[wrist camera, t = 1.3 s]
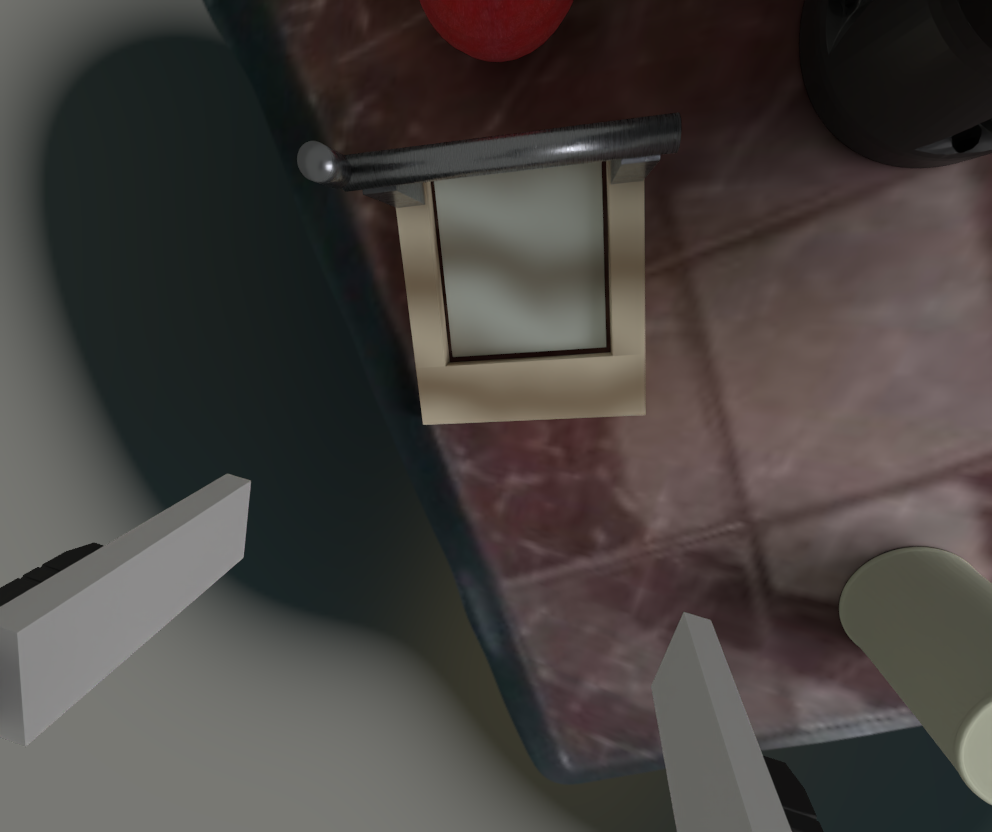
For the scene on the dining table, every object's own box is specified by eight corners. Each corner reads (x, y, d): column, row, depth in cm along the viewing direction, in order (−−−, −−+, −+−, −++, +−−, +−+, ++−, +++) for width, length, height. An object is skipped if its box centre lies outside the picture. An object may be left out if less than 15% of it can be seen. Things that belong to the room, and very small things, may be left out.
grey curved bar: (371, 179, 31) (293, 140, 22) (653, 145, 29) (693, 86, 20) (375, 210, 32) (301, 184, 23) (653, 179, 29) (693, 138, 20)
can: (820, 643, 37) (933, 806, 26) (863, 534, 35) (1011, 662, 23) (951, 669, 37) (1127, 850, 25) (1005, 560, 34) (1230, 706, 23)
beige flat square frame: (399, 179, 32) (391, 174, 31) (640, 151, 30) (644, 144, 29) (428, 418, 37) (423, 424, 35) (641, 408, 34) (645, 414, 33)
